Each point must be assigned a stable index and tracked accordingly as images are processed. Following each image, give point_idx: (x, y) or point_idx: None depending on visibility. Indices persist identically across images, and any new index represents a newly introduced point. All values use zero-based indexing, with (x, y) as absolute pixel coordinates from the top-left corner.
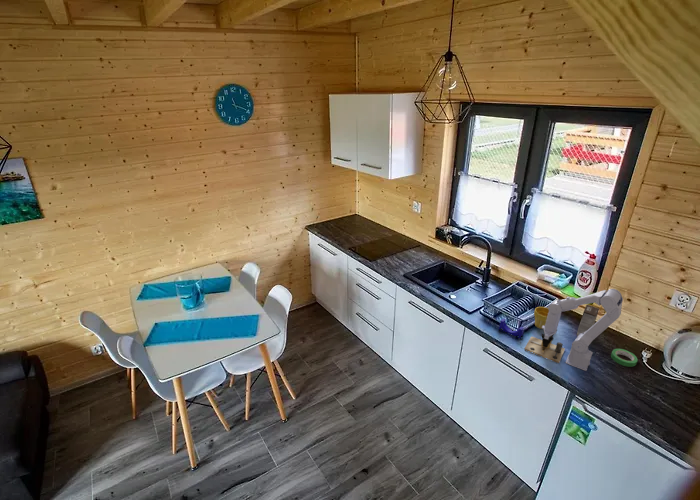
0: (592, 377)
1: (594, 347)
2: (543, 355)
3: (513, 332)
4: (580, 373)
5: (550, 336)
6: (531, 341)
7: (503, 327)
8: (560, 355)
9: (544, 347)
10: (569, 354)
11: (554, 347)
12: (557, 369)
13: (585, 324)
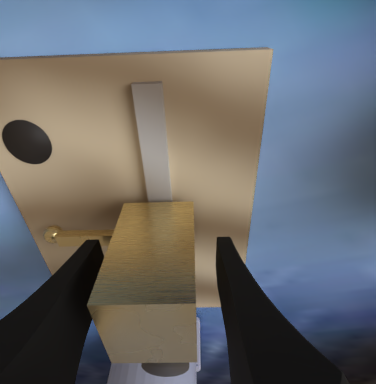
0: (106, 378)
1: (347, 364)
2: (35, 235)
3: None
4: (90, 357)
5: (185, 347)
6: (135, 95)
7: None
8: None
9: (105, 239)
10: (135, 368)
11: (207, 265)
12: (13, 301)
13: None
